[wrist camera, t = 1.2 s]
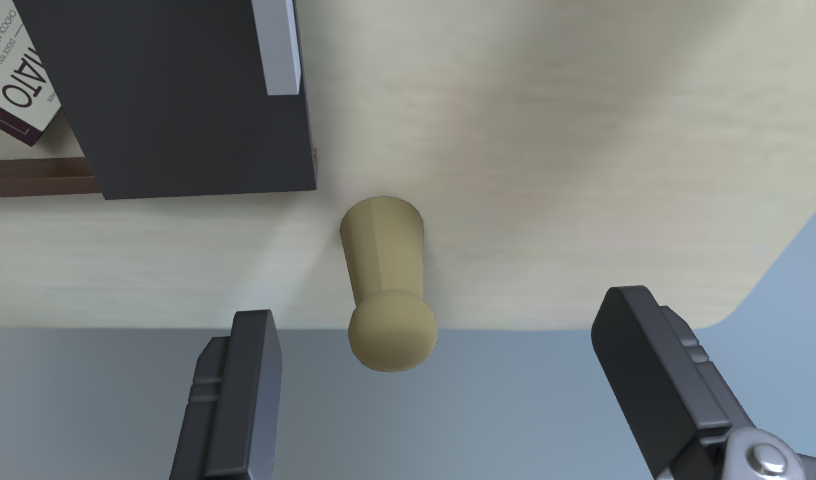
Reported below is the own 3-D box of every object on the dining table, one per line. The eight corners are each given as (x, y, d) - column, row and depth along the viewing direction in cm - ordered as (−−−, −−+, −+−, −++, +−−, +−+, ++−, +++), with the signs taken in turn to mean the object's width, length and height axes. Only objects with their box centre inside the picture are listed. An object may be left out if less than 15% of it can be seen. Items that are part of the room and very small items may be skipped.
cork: (418, 260, 38) (441, 384, 30) (339, 261, 38) (341, 389, 29) (427, 196, 35) (457, 320, 26) (339, 196, 34) (341, 323, 25)
